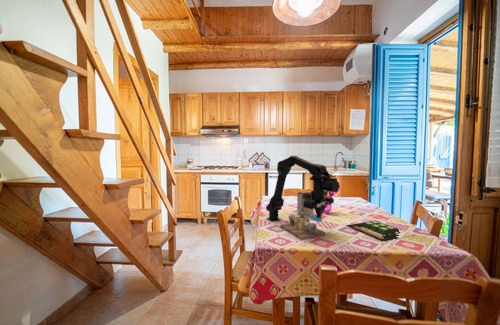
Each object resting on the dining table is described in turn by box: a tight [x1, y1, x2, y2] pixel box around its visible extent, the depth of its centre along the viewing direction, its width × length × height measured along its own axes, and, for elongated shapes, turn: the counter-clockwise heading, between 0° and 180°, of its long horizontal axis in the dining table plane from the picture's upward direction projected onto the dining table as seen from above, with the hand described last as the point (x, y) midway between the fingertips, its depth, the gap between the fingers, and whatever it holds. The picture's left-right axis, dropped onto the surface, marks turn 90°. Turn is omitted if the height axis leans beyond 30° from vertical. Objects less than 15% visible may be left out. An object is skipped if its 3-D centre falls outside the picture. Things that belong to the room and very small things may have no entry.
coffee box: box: [296, 191, 314, 216], centre depth 156 cm, size 9×6×16 cm
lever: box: [299, 211, 323, 223], centre depth 123 cm, size 15×3×2 cm, turn 31°
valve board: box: [279, 213, 326, 241], centre depth 128 cm, size 20×16×9 cm
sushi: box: [345, 220, 400, 242], centre depth 131 cm, size 25×25×4 cm
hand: (318, 218), depth 121 cm, fingers closed
